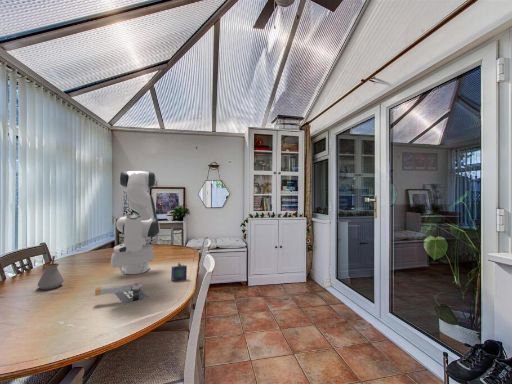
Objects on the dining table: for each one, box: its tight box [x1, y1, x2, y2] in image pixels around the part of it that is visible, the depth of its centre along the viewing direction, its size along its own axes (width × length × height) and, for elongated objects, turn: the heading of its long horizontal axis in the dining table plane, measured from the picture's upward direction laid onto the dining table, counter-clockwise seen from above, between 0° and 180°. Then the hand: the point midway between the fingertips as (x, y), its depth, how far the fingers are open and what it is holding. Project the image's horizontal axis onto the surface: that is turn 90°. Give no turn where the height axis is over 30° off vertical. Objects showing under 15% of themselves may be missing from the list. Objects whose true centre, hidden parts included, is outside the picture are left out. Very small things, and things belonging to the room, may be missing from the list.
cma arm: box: [94, 283, 142, 297], centre depth 119 cm, size 20×4×3 cm, turn 110°
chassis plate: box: [113, 289, 150, 305], centre depth 127 cm, size 18×12×1 cm, turn 44°
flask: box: [170, 262, 188, 282], centre depth 153 cm, size 9×3×11 cm, turn 109°
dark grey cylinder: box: [133, 291, 140, 302], centre depth 122 cm, size 3×3×4 cm
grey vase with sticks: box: [37, 255, 64, 291], centre depth 143 cm, size 21×12×15 cm, turn 36°
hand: (132, 272), depth 126 cm, fingers open, 8 cm apart
